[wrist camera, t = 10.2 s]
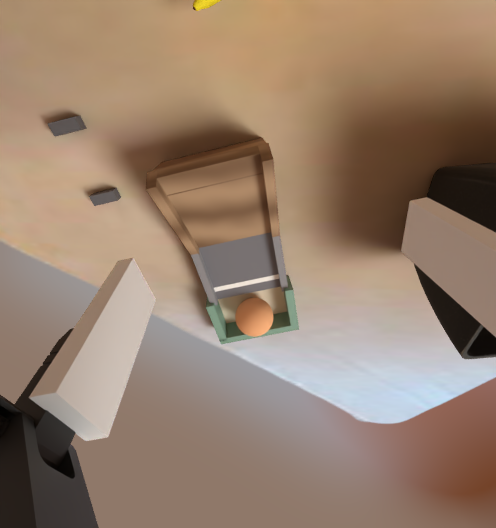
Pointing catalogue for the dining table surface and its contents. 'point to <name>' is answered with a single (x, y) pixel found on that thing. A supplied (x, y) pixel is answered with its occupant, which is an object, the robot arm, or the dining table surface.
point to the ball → (254, 317)
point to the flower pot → (484, 213)
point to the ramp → (218, 194)
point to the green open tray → (274, 297)
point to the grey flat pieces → (76, 125)
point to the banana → (203, 4)
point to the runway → (241, 266)
